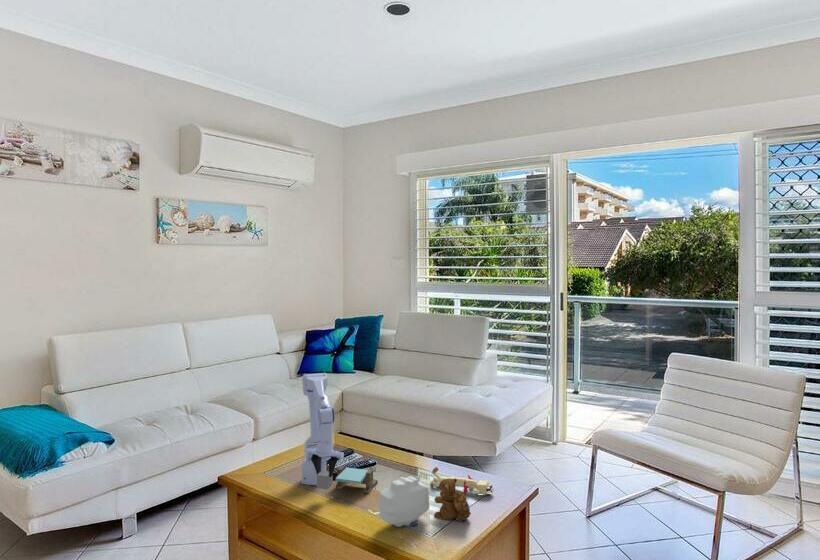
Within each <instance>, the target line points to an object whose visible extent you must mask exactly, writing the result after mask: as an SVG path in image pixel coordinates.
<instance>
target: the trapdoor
mask: <svg viewBox="0 0 820 560" xmlns="http://www.w3.org/2000/svg"><path fill="white" fill-rule="evenodd" d="M368 470H369V469H362V468H354V467H345V469H344V470H343V471H342V472H341V473H340V474H339V475H338V476H337V475H336V477H335V482H337V481H340V482H347V483H350V484H356V485H357V484H358V485H360V484H362V485H363V484H364V485H366V472H367V471H368Z"/></svg>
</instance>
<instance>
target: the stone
mask: <svg viewBox="0 0 820 560" xmlns="http://www.w3.org/2000/svg"><path fill="white" fill-rule="evenodd" d="M333 477H334V475H333V476H332V477H329V470H326V471H323V470H322V471H321V472H319V473H318V474H317V486H316V489H322V490H329V489H330V488H331V487H332V486H333V485H334V484H333V483H334V481H333Z"/></svg>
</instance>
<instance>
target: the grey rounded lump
mask: <svg viewBox="0 0 820 560" xmlns="http://www.w3.org/2000/svg"><path fill="white" fill-rule="evenodd" d="M420 480H421V473H419V474H418V476H416V477H414V476H412V475H410V476H406V477H403V476H400V477H399V478H398V479H397V480H393V481H392V482H391V483H390V485H389V486H388V487H386V488H385V489H383V490H382V491H381V492H380V493H379V501H378V504H377V506H378V509H379V513H378V514H379V518H381V520H383V521H384V522H385V523H388V524H391V525H394V526H395V527H397V528H401V527H403V526H409V525H410V524H411V523H413V522H414V523H415V522H416V521H417V520H419V518H420V517H421V516H422V515H424V514H425V513H427V512H428V511H429V508H430V496H429V494H430V490H429V487H428V485H426V484H424V483H422V482H421V481H420Z"/></svg>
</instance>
